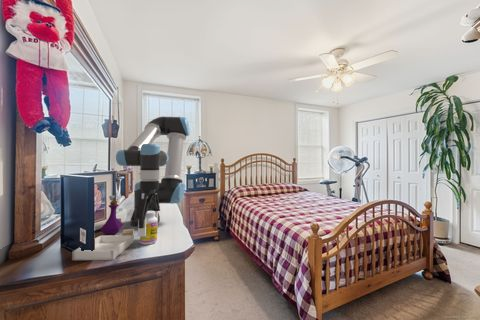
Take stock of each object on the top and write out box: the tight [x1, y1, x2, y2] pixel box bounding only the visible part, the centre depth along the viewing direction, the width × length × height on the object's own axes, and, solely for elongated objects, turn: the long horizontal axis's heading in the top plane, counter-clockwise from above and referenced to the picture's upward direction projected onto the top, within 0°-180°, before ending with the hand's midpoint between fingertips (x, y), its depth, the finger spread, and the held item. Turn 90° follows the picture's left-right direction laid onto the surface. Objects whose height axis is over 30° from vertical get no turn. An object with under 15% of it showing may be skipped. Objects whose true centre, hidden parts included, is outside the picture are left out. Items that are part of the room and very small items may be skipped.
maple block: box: [121, 228, 135, 236], centre depth 91 cm, size 4×4×4 cm
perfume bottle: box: [100, 195, 124, 236], centre depth 98 cm, size 8×8×18 cm
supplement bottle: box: [139, 211, 158, 246], centre depth 88 cm, size 7×7×13 cm
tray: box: [71, 234, 135, 261], centre depth 80 cm, size 16×14×3 cm
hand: (148, 230), depth 88 cm, fingers open, 13 cm apart
